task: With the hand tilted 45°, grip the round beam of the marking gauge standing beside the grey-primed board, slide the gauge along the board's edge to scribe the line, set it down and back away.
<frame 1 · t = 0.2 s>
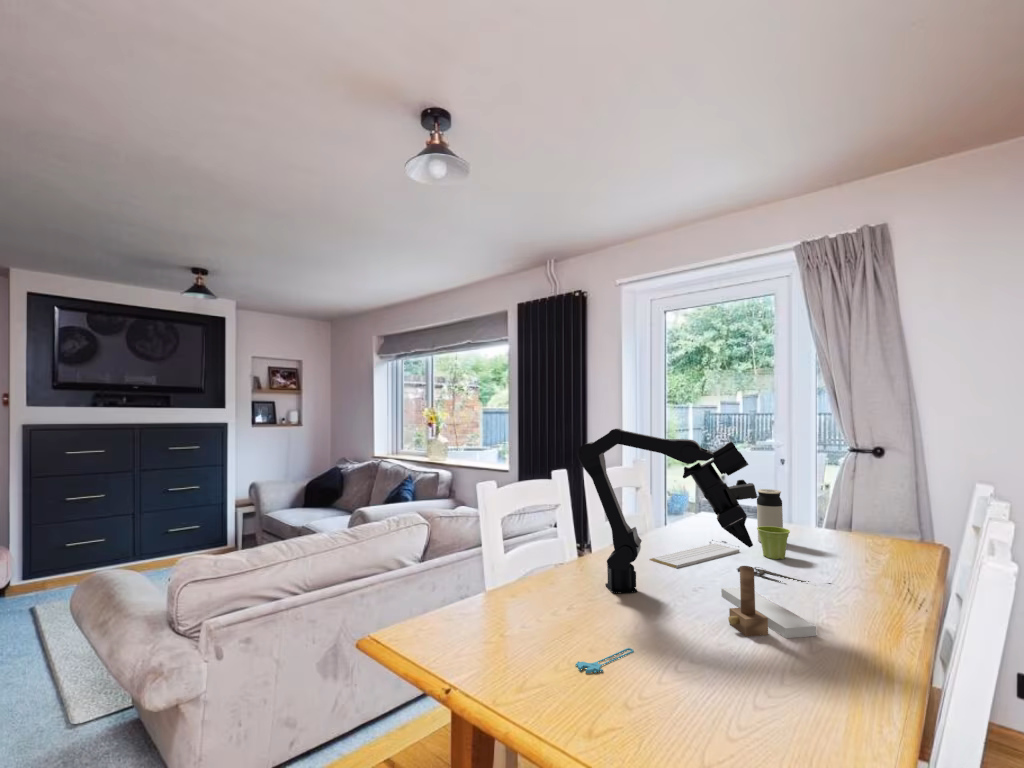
hand: (748, 542, 125), 15 cm above the table, tool tilted 30°, fingers open, 9 cm apart
blue flat looped piece: (607, 663, 97), on the table
board: (764, 614, 118), on the table
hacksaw: (785, 580, 143), on the table
plant pot: (774, 557, 163), on the table
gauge: (748, 629, 110), on the table
travel mug: (770, 543, 180), on the table
baseboard: (693, 557, 166), on the table
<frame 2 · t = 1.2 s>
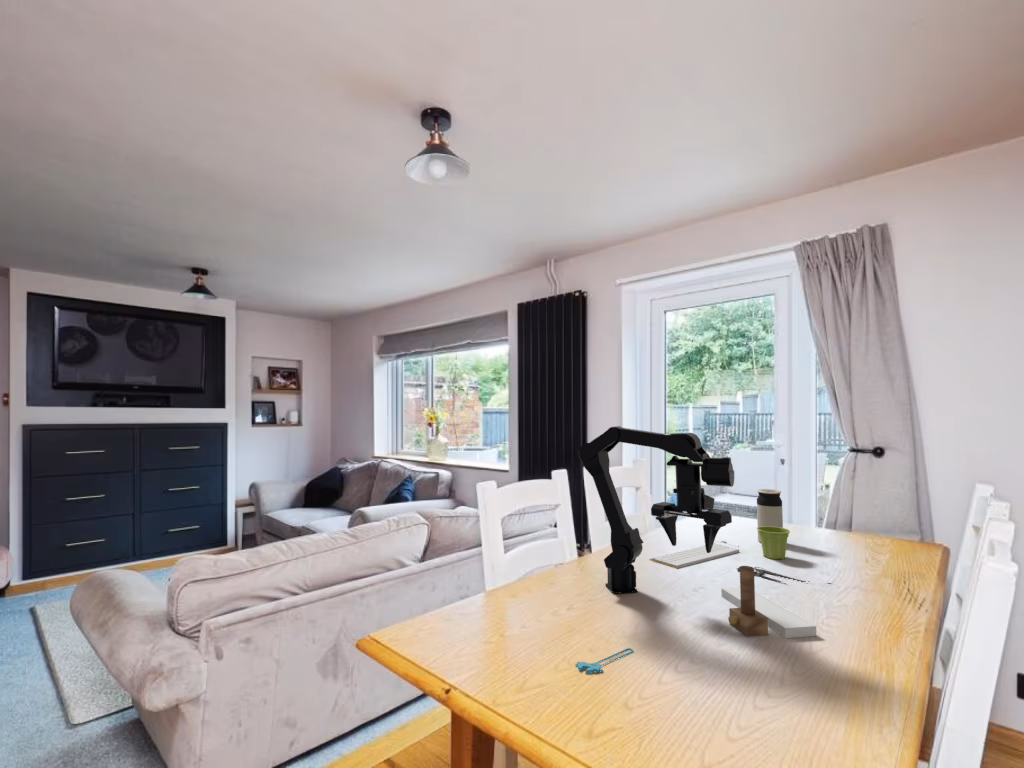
hand: (691, 549, 126), 13 cm above the table, tool pointing down, fingers open, 9 cm apart
nothing on the table moved.
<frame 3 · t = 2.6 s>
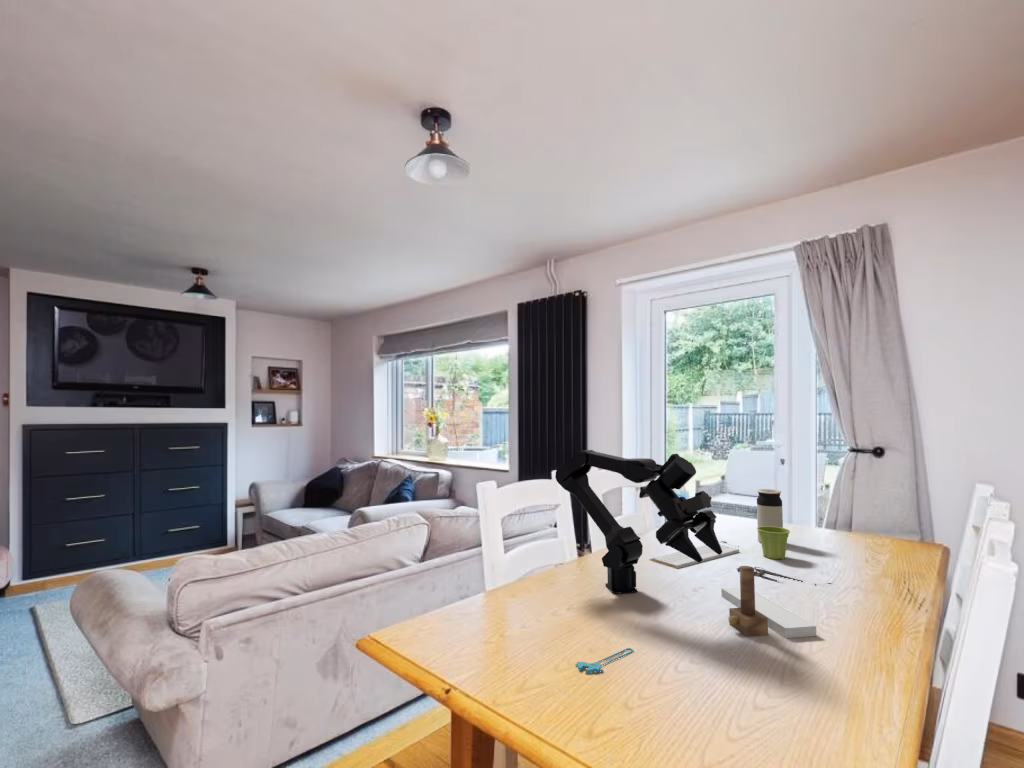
hand: (711, 557, 117), 13 cm above the table, tool tilted 45°, fingers open, 9 cm apart
nothing on the table moved.
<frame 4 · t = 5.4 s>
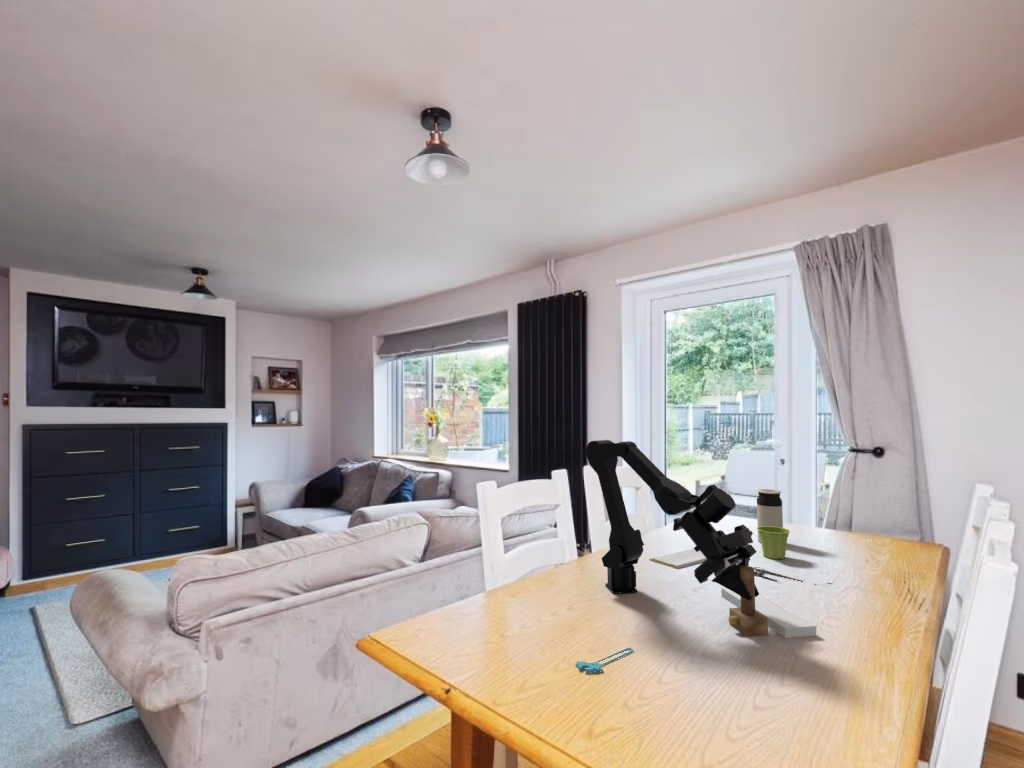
hand: (754, 597, 109), 7 cm above the table, tool tilted 45°, fingers closed on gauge, 3 cm apart
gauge: (748, 629, 110), on the table, touching gripper
everything else where it was.
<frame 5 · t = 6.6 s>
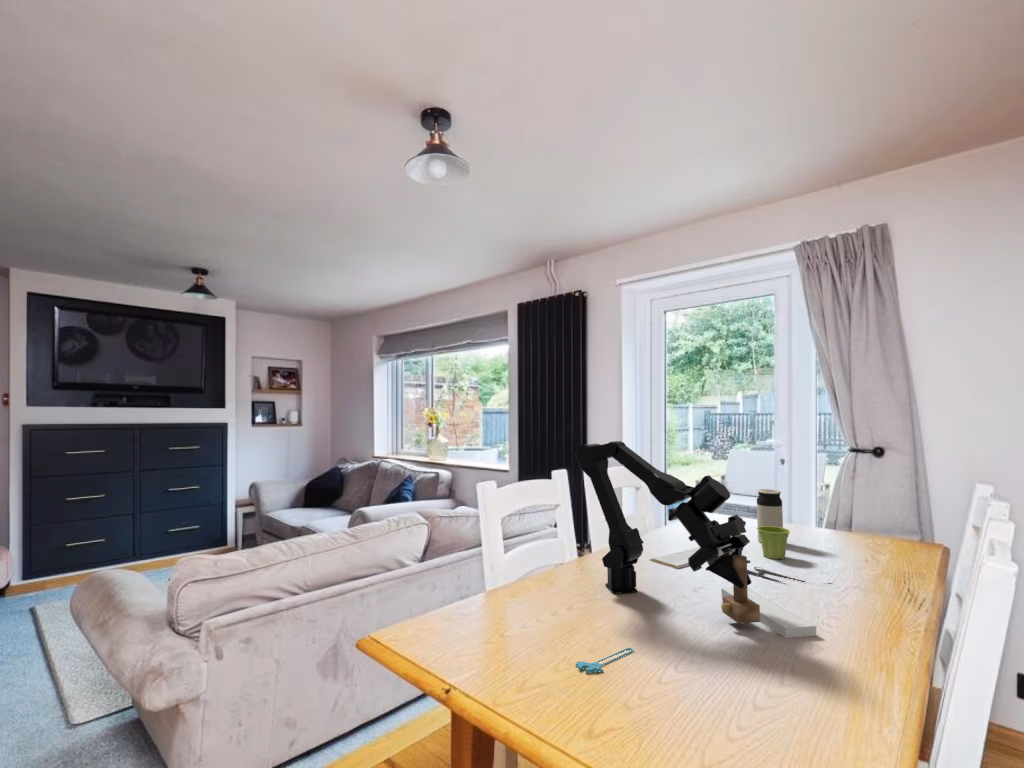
hand: (746, 585, 112), 9 cm above the table, tool tilted 45°, fingers closed on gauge, 3 cm apart
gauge: (740, 617, 112), point 2 cm above the table, touching gripper
everything else where it was.
when the fingers open (8 cm above the table, at t = 8.2 s): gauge stays where it is, on the table.
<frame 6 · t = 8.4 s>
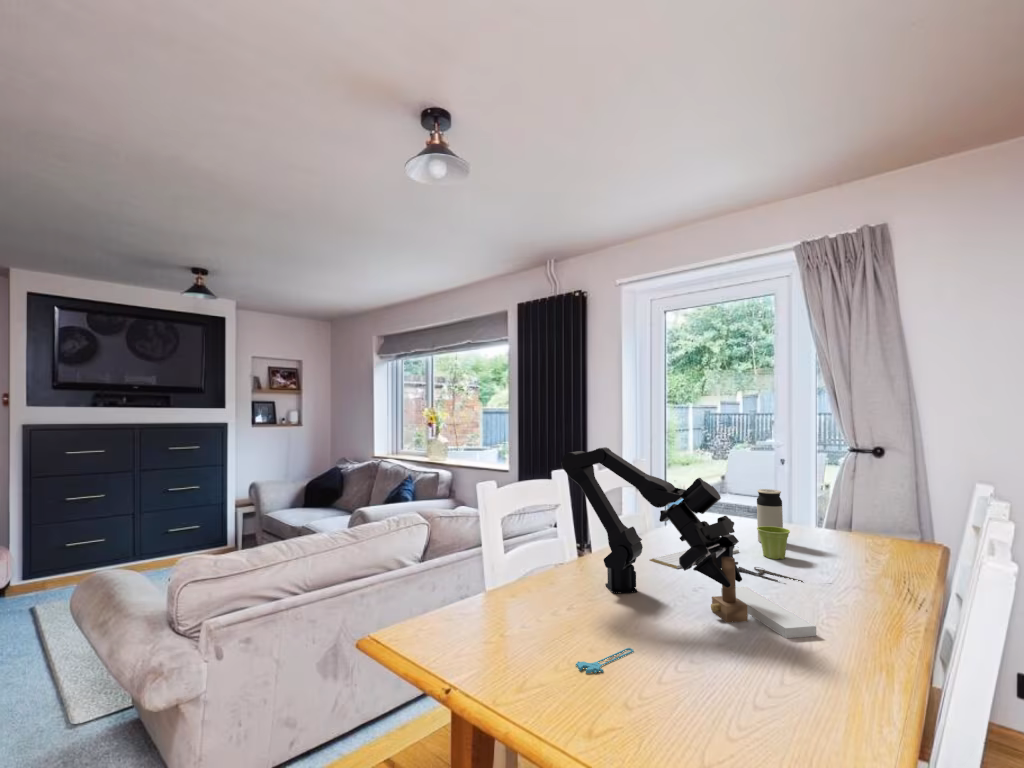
hand: (735, 583, 116), 8 cm above the table, tool tilted 45°, fingers open, 5 cm apart
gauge: (729, 616, 117), on the table
everything else where it was.
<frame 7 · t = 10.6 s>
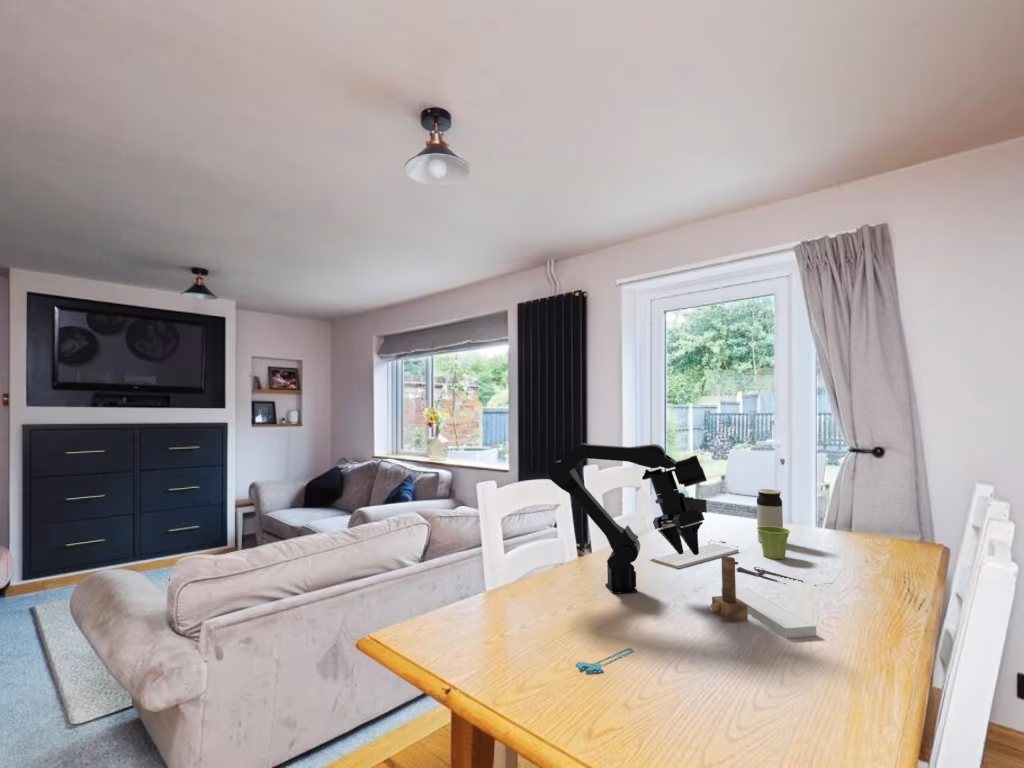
hand: (688, 554, 128), 11 cm above the table, tool tilted 20°, fingers open, 9 cm apart
nothing on the table moved.
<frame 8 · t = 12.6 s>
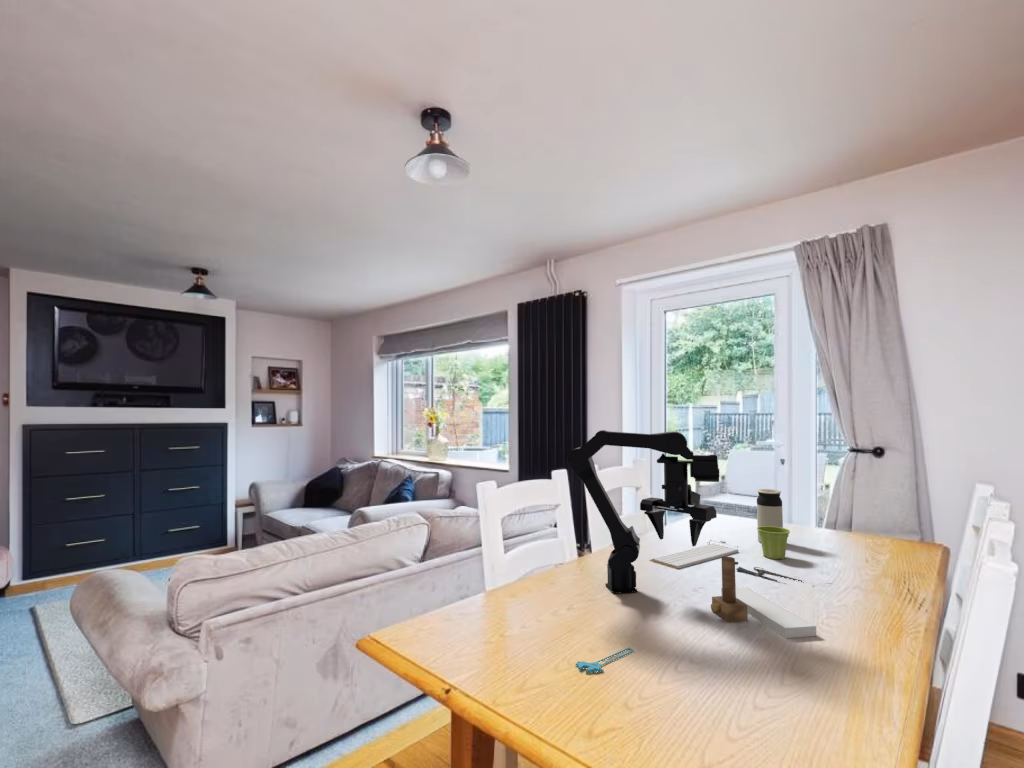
hand: (677, 542, 132), 13 cm above the table, tool pointing down, fingers open, 9 cm apart
nothing on the table moved.
at the end: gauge inside the target area (0.2 cm from its centre), on the table; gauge tilted 0°; the gripper is holding nothing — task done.
